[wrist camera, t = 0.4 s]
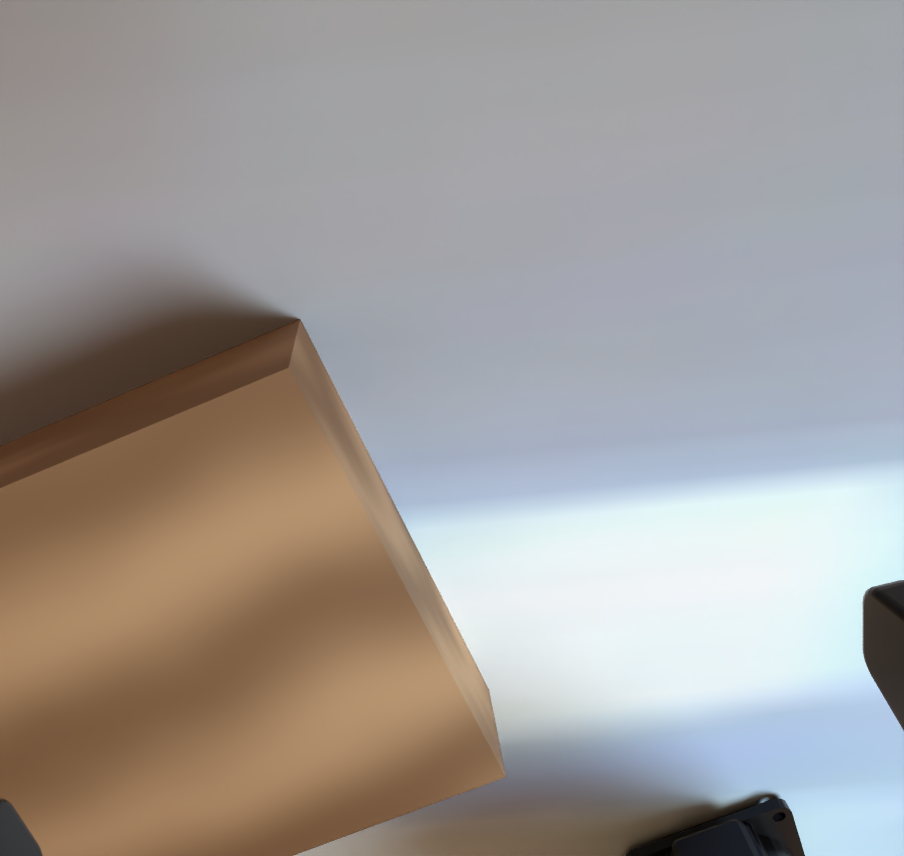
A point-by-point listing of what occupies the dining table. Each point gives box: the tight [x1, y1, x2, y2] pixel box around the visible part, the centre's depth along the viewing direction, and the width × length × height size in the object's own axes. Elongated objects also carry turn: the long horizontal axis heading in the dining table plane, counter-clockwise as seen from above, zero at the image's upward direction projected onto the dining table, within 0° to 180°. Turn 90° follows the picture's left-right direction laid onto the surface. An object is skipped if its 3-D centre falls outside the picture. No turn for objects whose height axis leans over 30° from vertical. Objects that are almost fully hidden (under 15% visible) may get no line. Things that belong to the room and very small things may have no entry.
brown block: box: [0, 320, 506, 856], centre depth 23 cm, size 14×14×4 cm
